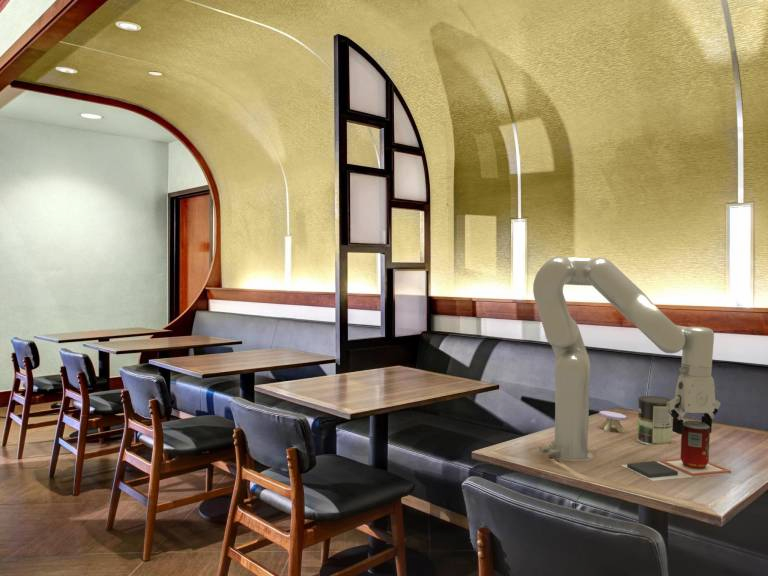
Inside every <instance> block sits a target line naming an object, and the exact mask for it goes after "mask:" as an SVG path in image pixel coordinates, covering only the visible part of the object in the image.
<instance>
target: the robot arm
mask: <svg viewBox="0 0 768 576" xmlns="http://www.w3.org/2000/svg"><path fill="white" fill-rule="evenodd" d="M565 285H568V286H570V285H572V286H574V285H575V286H592V287H593V288H594V289H595V290H597V292H599V294H600V295H601V296H602V297H603V298H605V299H606V300H607V301H608V303H610V305H611V306H612V307H614V308H615V309H616V310H617V311H618V312H619V313H620V314H621V315H622V316H623V317H624V318H626V319H627V320H629V322H631V323H632V324H633V325H634V326H635V327H636V328H637V329H638V330H639V331H640V332H641V333H642V334H643V335H644V336H645V337H646V338H648V340H650V341H651V343H653V345H655V347H657V348H658V349H659V350H660V351H662V352H663V353H665V354H676V353H679V352H680V351H682V355H681V364H680V365H681V367H679V368H678V371H679V372H680V374H679V375H678V378H677V383H676V387H675V395H674V398H672V399H671V400H670V401H669V402H667V403H666V405H667V408H668V412H669V413H670V414H671V417H672V432H673V433H676V434H679V435H681V434H682V432H683V422H684V419H683V417H684V416H685V415H686V414H687V415H688V414H690V415H693V414H694V415H696V414H702V416H701V421H700V422H703V423H706V424H707V425H708V426H709V427H710V434H711V433H712V429H713V427H712V426H713V419H715V416H716V414H717V413H718V412H719V408H720V407H721V405H722V404H721V402H720V401H719V400H718V399H716V387H715V380H714V377H712V369H713V356H714V355H713V353H714V343H715V342H714V339H715V332H714V331H713V329H711V328H709V327H704V326H683V325H677V324H675V323H674V322H673V321H672V320H671V319H670V318H668V316H667V315H666V314H664V313H663V312H662V311H661V309H660V308H659V307H657V305H655V304H654V303H653V302H652V300H650V298H649V297H648V295H646V294H645V292H643V291H642V290H641V288H639V287H638V285H636V284H635V283H634V282H633V281H632V280H631V279H630V278H628V276H626V275H625V273H624V272H622V271H621V270H620V269H619V268H618V267H617V266H616V265H615V264H614V263H613V262H612V261H610V260H609V259H607V258H605V257H591V258H590V257H586V258H585V257H568V256H567V257H566V256H555V257H552V258H550V259H548V260H546V262H545V263H543V265H542V266H541V267H540V268H539V270H538V271H537V273H536V274H535V277H534V280H533V284H532V289H533V290H532V292H533V293H532V294H533V298H534V302H535V305H536V307H537V313H538V316H539V318H540V322H541V324H542V327H543V331H544V335H545V336H544V337H545V339H546V341H547V342H548V344H550V346H551V348H552V351H553V355H554V357H555V359H556V364H555V367H554V370H555V371H554V383H555V385H554V386H555V387H554V389H555V394H554V395H555V397H554V399H555V400H554V401H555V402H554V403H555V404H554V406H555V408H554V409H555V410H554V414H555V415H554V440H553V441H550V442H551V443H550V444H549V445H540V446H539V452H540V453H541V454H542V453H548V455H549V458H550V457H551V458H550V459H552V460H553V459H554V460H553V461H556V460H557V461H556V462H559V460H558V459H560V460H565V461H570V462H571V461H573V462H582V461H583V462H584V461H588V460H592V459H593V458H594V455H593V454H592V453H591V452H589V422H590V421H589V412H590V411H589V409H590V406H589V405H590V403H589V402H590V376H591V374H590V373H591V362H590V361H591V360H590V356H589V354H588V351H587V349H586V345H585V343H584V340H583V336H582V334H581V331H580V328H579V325H578V324H577V322H576V321H575V320H574V318H573V317H572V316H571V313H570V310H569V307H568V305H567V301H566V298H565V295H564V286H565ZM556 458H557V459H556Z"/></svg>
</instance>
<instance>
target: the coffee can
mask: <svg viewBox="0 0 768 576" xmlns="http://www.w3.org/2000/svg"><path fill="white" fill-rule="evenodd" d="M670 400H672V399H671V398H667V397H664V396H656V395H655V396H654V395H644V396H643V395H642V396H639V397H638V413H637V414H638V417H637V419H638V420H637V421H638V422H637V439H636V440H637V442H638V443H640V444H642V445H645V444H646V445H647V446H654V445H663V444H664V445H665V444H672V432H673V431H672V427H673V417H671V414H670V413H669V412H668V408H667V405H666V403H667V402H669V401H670Z"/></svg>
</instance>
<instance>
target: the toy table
mask: <svg viewBox="0 0 768 576" xmlns="http://www.w3.org/2000/svg"><path fill="white" fill-rule="evenodd" d="M598 414H599V416H601V417H603V418H606V420H605V421H604V422H603V423H601V425H600V428H601V427H602V429H603V433H609V432H611V428H612V427H613V425H614V428H615V430H617V431H618V432H617V433H621V432H622V434H625V433H626V430H625V428H624V427H623V426H622V424H621V422H620V421H626V420H627V415H625V414H623V413H619V412H615V411H609V410H599V412H598ZM608 431H609V432H608Z"/></svg>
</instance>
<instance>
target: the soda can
mask: <svg viewBox="0 0 768 576" xmlns="http://www.w3.org/2000/svg"><path fill="white" fill-rule="evenodd" d="M680 435H681V437H680V438H681V439H680V456H679V457H680V458H681V460H682V462H683V466H685V467H687V468H691V469H699V470H701V469H705V468H706V465H707V464H708V462H710V461H709V460H710V456H709V455H710V440H711V439H710V438H711V433H710V427H709V426H708V425H707V424H706V423H703V422H701V421H698V420H686V421H683V432H682V434H680Z"/></svg>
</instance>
